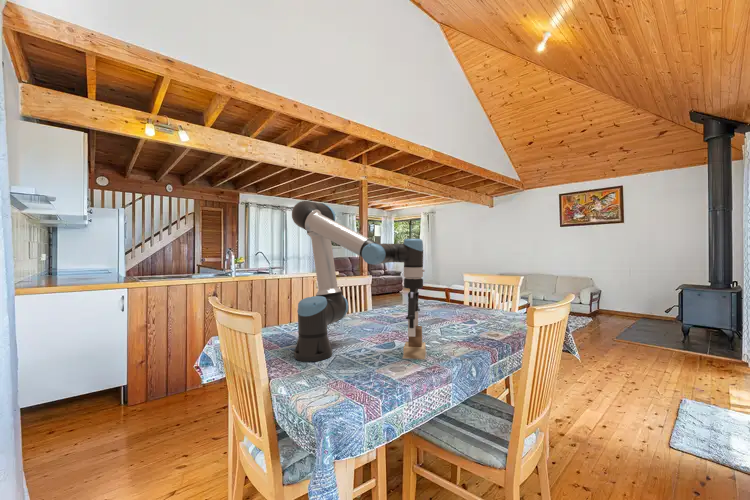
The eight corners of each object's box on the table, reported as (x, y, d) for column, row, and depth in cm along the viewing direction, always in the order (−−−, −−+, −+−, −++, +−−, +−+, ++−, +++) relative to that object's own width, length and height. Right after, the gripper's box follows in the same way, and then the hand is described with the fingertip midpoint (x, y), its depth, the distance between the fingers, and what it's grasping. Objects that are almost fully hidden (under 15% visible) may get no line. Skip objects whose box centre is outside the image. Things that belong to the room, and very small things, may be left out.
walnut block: (408, 346, 126) (408, 328, 126) (409, 342, 131) (409, 325, 131) (421, 347, 125) (421, 329, 125) (422, 343, 130) (422, 326, 130)
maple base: (403, 358, 125) (403, 347, 125) (405, 351, 133) (405, 341, 133) (424, 359, 123) (424, 348, 123) (425, 352, 131) (425, 342, 131)
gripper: (420, 281, 115) (420, 341, 115) (424, 275, 139) (424, 324, 140) (399, 281, 116) (399, 340, 117) (407, 274, 141) (407, 323, 141)
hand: (413, 331), depth 128 cm, fingers open, 13 cm apart
